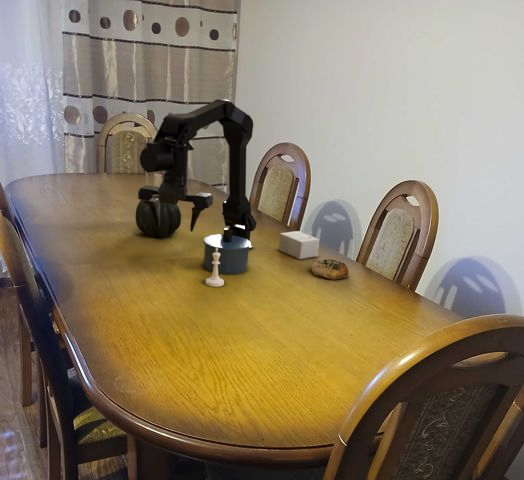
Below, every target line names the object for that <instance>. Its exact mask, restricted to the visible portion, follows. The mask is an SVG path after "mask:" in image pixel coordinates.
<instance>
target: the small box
mask: <svg viewBox="0 0 524 480" xmlns="http://www.w3.org/2000/svg"><path fill="white" fill-rule="evenodd" d="M278 238H279V239H278V248H277V250H278V251H280V252H282V253H284V254H287V255H289V256H291V257H293V258H295V259H298V260H304V259H309V258H316V257H318V255H319V248H320V241H321V239H320V238H317V237H314V236H312V235H309V234H307V233H304V232H302V231H299V230H296V231H288V232H281V233H279V237H278Z"/></svg>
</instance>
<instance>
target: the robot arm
mask: <svg viewBox="0 0 524 480" xmlns="http://www.w3.org/2000/svg"><path fill="white" fill-rule="evenodd" d="M216 122H218V124H220V125H221V126H222V132H223V133H222V134H223V137H224V140H225V141H226V143H227V145H228V196H227V199H226V200H225V201H223V202H222V204H221V206H222V213H221V215H222V217H223V221H224V226H225V227H228V228H231V229H232V235H233V236H238V237H242V238H245V239H247V240H248V241H250V242H251V232H254V230H256V227H257V225H258V223H257V221H256V219H255V218H254V215H253V214H252V205H251V202H250V200H249V199H248V197H247V194H246V193H247V146H248V144H249V143H250V141H251V139H252V138H253V131H254V119H253V118H252V116H251V115H250V114H247V112H245V111H243V110H242V109H240V108H239V107H237V106H236V105H235V104H234V103H233V102H232V101H231V100H230V99H229V100H228V99H221V98H216V99H214V100H213V101H212V102H210V103H207V104H205V105H202V106H200V107H199V108H196V109H194V110H192V111H189V112H185V113H172V114H167V115H165V116H164V117H163V119H162V121H161V124H160V126H159V128H158V130H157V132H156V134H155V136H154V138H153V140H152V142H151V141H147V142H146V143H145V148H143V149H142V150H141V152H140V155H139V164H140V166H141V168H142V169H143V170H144V171H145V172H146V173H147V174H148V173H158V172H164V173H163V179H162V182H161V184H160V185H159V186H156V185H149V184H145V185H144V186H142V187H140V188H139V189H138V190H137V199H138V200H139V201H141V200H144V201H143V203H146V204H147V205H148V206H149V207H150V209H151V211H152V213H153V216H154V219H155V222H156V225H157V227H159V226H160V203H170V204H173V205H175V204H177V205H178V203H179V201H180V202H186V203H192V204H193V206H192V207H191V219H190V228H189V229H190V230H189V231H190V232H193V231H194V229H195V226H196V224H197V221H198V219H199V217H200V214H201V212H202V211H205V210H206V209H209V208H210V207H211V206H212V205H213V203H214V197H213V195H212V193H211V192H201V191H198V192H196V193H195V194H189V188H188V178H189V171H188V169H189V151H194V150H195V147H194V146H193V145H192V144H191V143H190V141H192V139H194V138H195V137H196V136H197V135H198V132H199V131H200V130H201V129H203V128H206V127H208V126H210V125H212V124H214V123H216ZM250 249H253V246H252V245H250V247H249V250H250Z"/></svg>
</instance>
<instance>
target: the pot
mask: <svg viewBox="0 0 524 480" xmlns="http://www.w3.org/2000/svg"><path fill="white" fill-rule="evenodd" d="M203 249H204V253H203V266H204V268H205V269H206V270H207V271H209V272H212V273H213V268H214V264H212V261H214V258H213V253H215V252H216V248H212V247H209V246H207V245H206V244H205V243H204V248H203ZM249 250H250V249H249V248H247V249H243V250H221V249H218V253H220V257H219V260H218V261H219V262H220V264H218V274H222V275H238V274H243V273H244V272H246V271H247V269H248V261H249Z"/></svg>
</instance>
